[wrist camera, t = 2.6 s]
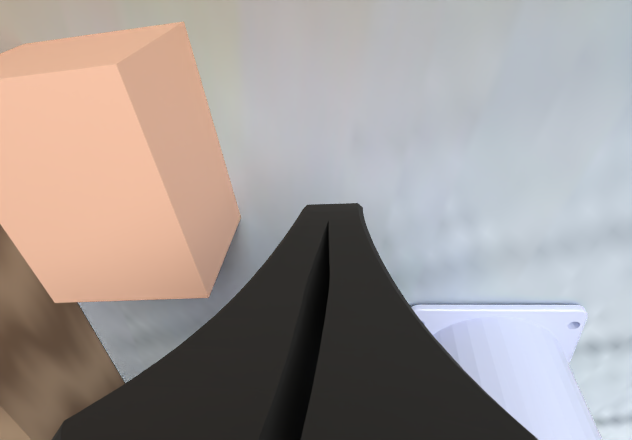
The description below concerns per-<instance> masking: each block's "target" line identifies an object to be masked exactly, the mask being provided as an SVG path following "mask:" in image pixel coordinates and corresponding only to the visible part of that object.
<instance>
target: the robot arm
mask: <svg viewBox="0 0 632 440" xmlns="http://www.w3.org/2000/svg"><path fill="white" fill-rule="evenodd" d="M587 318H588V314H587V312H586V310H585V308H584V307H582V306H580V305H415V306H412V307H410V305H409V304H408V302H407V301H406V300H405V298H404V297H403V295H402V294H401V292H400V291H399V289H398V287H397V286H396V284H395V283H394V281H393V279H392V278H391V276H390V274H389V273H388V271H387V269H386V267H385V265H384V264H383V262H382V260H381V258H380V256H379V254H378V252H377V250H376V248H375V246H374V244H373V241H372V239H371V237H370V234H369V232H368V229H367V226H366V223H365V220H364V216H363V207H361V206H360V205H359V204H358V203H352V204H319V205H307V206H306V207H305V208H304V209H303V210H302V212H301V213H300V215H299V217H298V218H297V220H296V221H295V223H294V224H293V226H292V227H291V229H290V230H289V231H288V233H287V234H286V236H285V237H284V239H283V240H282V241H281V243H280V244H279V245H278V247H277V248H276V249H275V250H274V252H273V253H272V254H271V256H270V257H269V258H268V260H267V261H266V262H265V263H264V264H263V266H262V267H261V268H260V269H259V270H258V271H257V273H256V274H255V275H254V276H253V277H252V278H251V280H250V281H249V282H248V283H247V284H246V285H245V286H244V287H243V288H242V289H241V291H240V292H239V293H238V294H237V295H236V296H235V297H234V298H233V299H232V300H231V301H230V302H229V303H228V304H227V305H226V306H225V307H224V308H223V309H221V310H220V311H219V312H218V313H217V314H216V315H215V316H214V317H213V318H212V319H211V320H209V321H208V322H207V323H206V324H205V325H204V326H202V327H201V328H200V329H199V330H198V331H196V332H195V333H194V334H193V335H192V336H190V337H189V338H188V339H187V340H186V341H184V342H183V343H182V344H181V345H179V346H178V347H177V348H175V349H174V350H173V351H171V352H170V353H169V354H167V355H166V356H165V357H163V358H162V359H160V360H159V361H158V362H156V363H155V364H153V365H152V366H151V367H149V368H148V369H146V370H145V371H143V372H142V373H140V374H139V375H138V376H136V377H135V378H133V379H132V380H130V381H128V382H127V383H125V384H124V385H122V386H121V387H119V388H117V389H116V390H114V391H113V392H111V393H109V394H108V395H106V396H104V397H103V398H101V399H99V400H98V401H96V402H95V403H93V404H91V405H90V406H88V407H86V408H85V409H83V410H81V411H80V412H78V413H76V414H75V415H73V416H71V417H69V418H68V419H66V420H64V421H63V423H62V425H61V426H60V428H59V429H58V431H57V432H56V434H55V435H54V437H53V438H52V440H603V439H602V437H601V435H600V433H599V430H598V428H597V426H596V424H595V421H594V419H593V417H592V415H591V413H590V410H589V408H588V406H587V404H586V401H585V399H584V397H583V395H582V392H581V390H580V388H579V386H578V383H577V381H576V379H575V377H574V375H573V372H572V370H571V368H570V366H569V364H570V361H571V359H572V356H573V354H574V351H575V349H576V346H577V344H578V341H579V338H580V336H581V333H582V331H583V328H584V326H585V323H586V321H587Z"/></svg>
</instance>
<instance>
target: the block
mask: <svg viewBox="0 0 632 440" xmlns="http://www.w3.org/2000/svg"><path fill="white" fill-rule="evenodd" d="M240 218H241V216H240V213H239V209H238V206H237V202H236V199H235V195H234V192H233V189H232V185H231V182H230V178H229V175H228V171H227V168H226V165H225V161H224V158H223V154H222V151H221V147H220V144H219V141H218V137H217V134H216V130H215V127H214V123H213V120H212V117H211V113H210V110H209V106H208V103H207V99H206V96H205V93H204V89H203V86H202V82H201V79H200V75H199V72H198V69H197V65H196V62H195V58H194V55H193V52H192V48H191V45H190V41H189V38H188V34H187V31H186V28H185V24H184V22H178V23H171V24H164V25H156V26H149V27H142V28H135V29H128V30H120V31H113V32H106V33H99V34H92V35H85V36H77V37H70V38H63V39H56V40H49V41H42V42H34V43H27V44H23V45H21V46H18V47H16V48H13V49H11V50H8V51H6V52H3V53H1V54H0V224H1V226H2V227H3V229H4V230H5V232H6V233H7V234H8V236H9V237H10V239H11V240H12V242H13V243H14V245H15V246H16V247H17V249H18V250H19V252H20V253H21V255H22V256H23V258H24V259H25V260H26V262H27V263H28V265H29V266H30V268H31V269H32V271H33V272H34V274H35V275H36V276H37V278H38V279H39V281H40V282H41V284H42V285H43V287H44V288H45V289H46V291H47V292H48V294H49V295H50V297H51V298H52V300H53V301H54V302H55V303H67V302H97V301H127V300H157V299H187V298H209V296H210V293H211V291H212V288H213V286H214V283H215V281H216V278H217V276H218V273H219V271H220V268H221V266H222V263H223V261H224V258H225V256H226V253H227V251H228V248H229V246H230V243H231V241H232V238H233V236H234V233H235V231H236V228H237V226H238V223H239V221H240Z"/></svg>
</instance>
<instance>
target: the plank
mask: <svg viewBox="0 0 632 440" xmlns="http://www.w3.org/2000/svg"><path fill="white" fill-rule="evenodd" d="M124 384H125V383H124V381H123V380H122V378H121V376H120V375H119V373H118V371H117V369H116V368H115V366H114V364H113V363H112V361H111V359H110V358H109V356H108V354H107V353H106V351H105V349H104V347H103V346H102V344H101V342H100V341H99V339H98V337H97V336H96V334H95V332H94V331H93V329H92V327H91V325H90V324H89V322H88V320H87V319H86V317H85V315H84V314H83V312H82V310H81V309H80V307H79V305H78V303H77V302H67V303H55V302H54V301H53V300H52V298H51V297H50V295H49V294H48V292H47V291H46V289H45V288H44V287H43V285H42V284H41V282H40V281H39V279H38V278H37V276H36V275H35V274H34V272H33V271H32V269H31V268H30V266H29V265H28V263H27V262H26V260H25V259H24V258H23V256H22V255H21V253H20V252H19V250H18V249H17V247H16V246H15V245H14V243H13V242H12V240H11V239H10V237H9V236H8V234H7V233H6V232H5V230H4V229H3V227H2V226H1V224H0V440H52V438H53V437H54V435H55V434H56V432H57V431H58V429H59V428H60V426H61V425H62V423H63V421H64V420H66V419H68V418H69V417H71V416H73V415H75V414H76V413H78V412H80V411H81V410H83V409H85V408H86V407H88V406H90V405H91V404H93V403H95V402H96V401H98V400H99V399H101V398H103V397H104V396H106V395H108V394H109V393H111V392H113V391H114V390H116V389H117V388H119V387H121V386H122V385H124Z"/></svg>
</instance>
